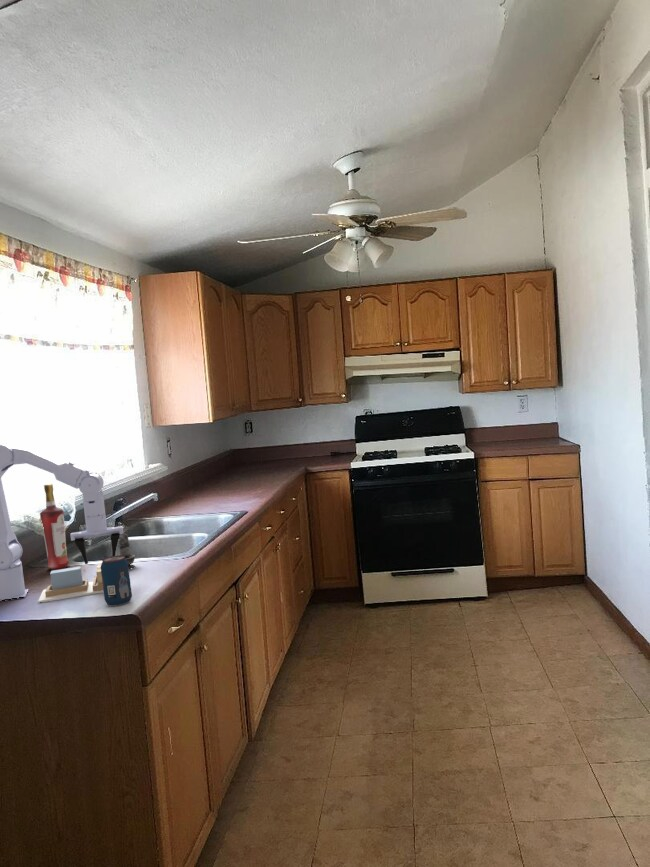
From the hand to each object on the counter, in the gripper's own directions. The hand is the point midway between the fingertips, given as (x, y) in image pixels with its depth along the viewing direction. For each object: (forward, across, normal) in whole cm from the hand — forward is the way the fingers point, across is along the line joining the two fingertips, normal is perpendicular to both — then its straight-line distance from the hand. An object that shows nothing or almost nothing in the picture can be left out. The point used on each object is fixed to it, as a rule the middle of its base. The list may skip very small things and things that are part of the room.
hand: (100, 561), depth 207 cm
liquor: (+8, -16, +34) cm, 38 cm away
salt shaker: (+7, +7, +18) cm, 20 cm away
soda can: (+7, +5, -22) cm, 24 cm away
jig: (+7, -6, -2) cm, 10 cm away
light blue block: (+7, -9, -2) cm, 12 cm away
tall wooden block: (+6, +1, -2) cm, 7 cm away
